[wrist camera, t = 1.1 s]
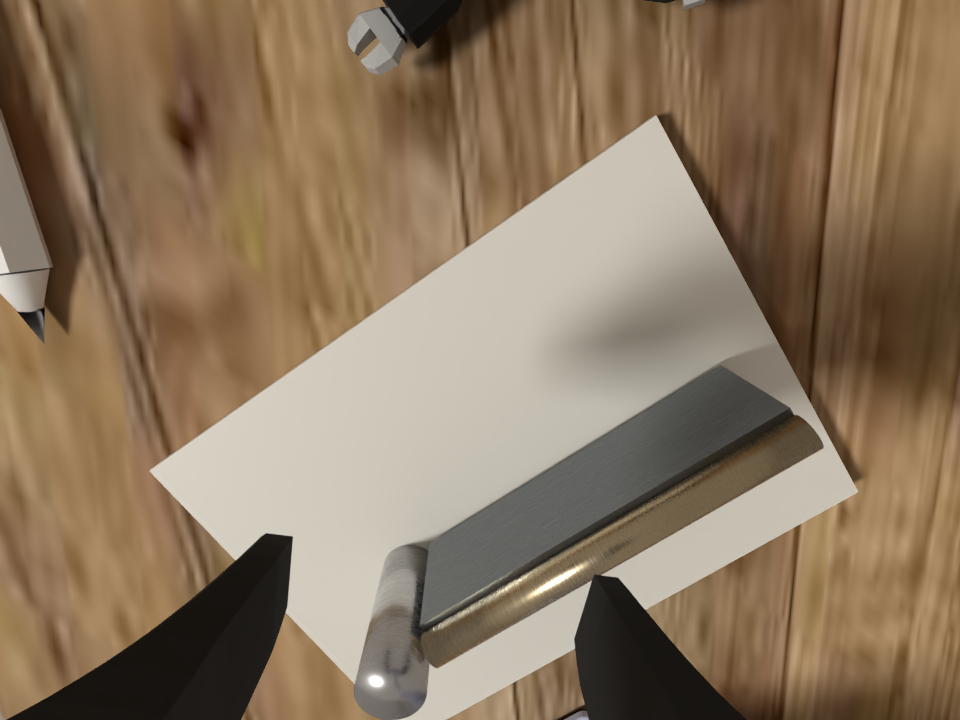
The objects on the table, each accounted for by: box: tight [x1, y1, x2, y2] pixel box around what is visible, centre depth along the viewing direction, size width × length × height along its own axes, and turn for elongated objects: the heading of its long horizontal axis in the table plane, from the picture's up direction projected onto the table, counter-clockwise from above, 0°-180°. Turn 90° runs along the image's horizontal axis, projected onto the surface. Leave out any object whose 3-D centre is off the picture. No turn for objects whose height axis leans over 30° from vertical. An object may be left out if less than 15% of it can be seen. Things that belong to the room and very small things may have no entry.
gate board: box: [150, 116, 858, 720], centre depth 22 cm, size 18×24×1 cm
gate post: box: [354, 545, 430, 720], centre depth 21 cm, size 2×2×7 cm
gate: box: [420, 365, 824, 668], centre depth 19 cm, size 2×14×6 cm, turn 124°
